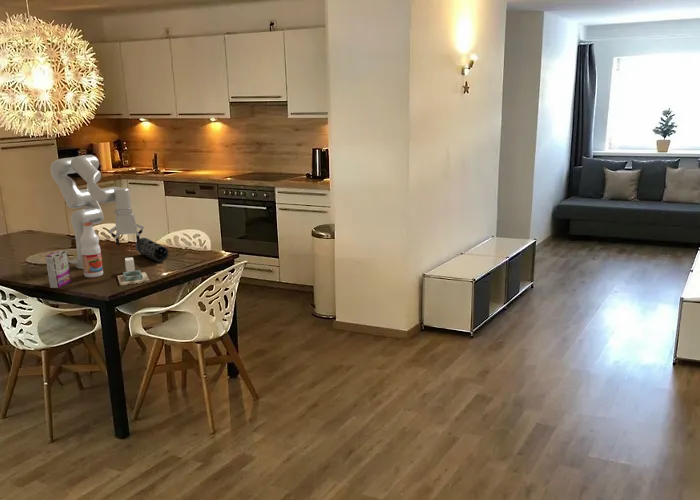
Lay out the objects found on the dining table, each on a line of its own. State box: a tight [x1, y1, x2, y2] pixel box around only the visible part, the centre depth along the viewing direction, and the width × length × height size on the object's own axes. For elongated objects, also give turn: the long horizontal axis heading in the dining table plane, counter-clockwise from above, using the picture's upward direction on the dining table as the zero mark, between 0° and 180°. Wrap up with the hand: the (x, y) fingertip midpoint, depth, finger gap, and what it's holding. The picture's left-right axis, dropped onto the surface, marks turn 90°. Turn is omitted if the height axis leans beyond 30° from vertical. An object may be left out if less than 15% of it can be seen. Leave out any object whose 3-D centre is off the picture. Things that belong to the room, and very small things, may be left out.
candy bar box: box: [45, 250, 72, 289], centre depth 317 cm, size 11×5×16 cm, turn 170°
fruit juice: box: [80, 222, 104, 278], centre depth 332 cm, size 9×9×28 cm
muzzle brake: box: [134, 237, 170, 264], centre depth 365 cm, size 10×28×10 cm, turn 39°
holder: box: [116, 269, 150, 287], centre depth 325 cm, size 14×16×3 cm
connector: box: [124, 256, 136, 272], centre depth 337 cm, size 4×6×8 cm, turn 24°
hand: (128, 244), depth 334 cm, fingers open, 9 cm apart
